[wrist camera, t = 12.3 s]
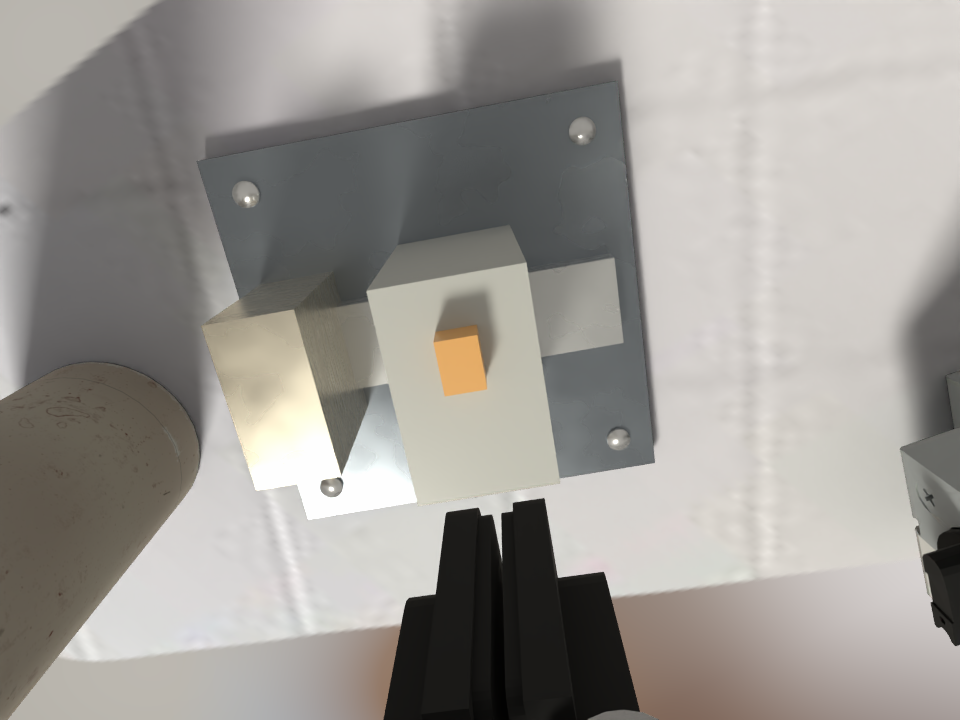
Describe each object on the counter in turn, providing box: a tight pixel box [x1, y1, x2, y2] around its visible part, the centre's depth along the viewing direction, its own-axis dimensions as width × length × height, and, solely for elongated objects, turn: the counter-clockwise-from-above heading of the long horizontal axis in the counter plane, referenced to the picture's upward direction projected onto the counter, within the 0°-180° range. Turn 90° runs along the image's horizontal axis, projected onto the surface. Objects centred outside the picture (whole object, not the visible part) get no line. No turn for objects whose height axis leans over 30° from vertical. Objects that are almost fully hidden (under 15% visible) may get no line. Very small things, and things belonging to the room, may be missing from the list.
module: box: [366, 225, 560, 506], centre depth 22 cm, size 4×7×9 cm, turn 10°
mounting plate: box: [197, 81, 655, 520], centre depth 24 cm, size 16×16×7 cm
